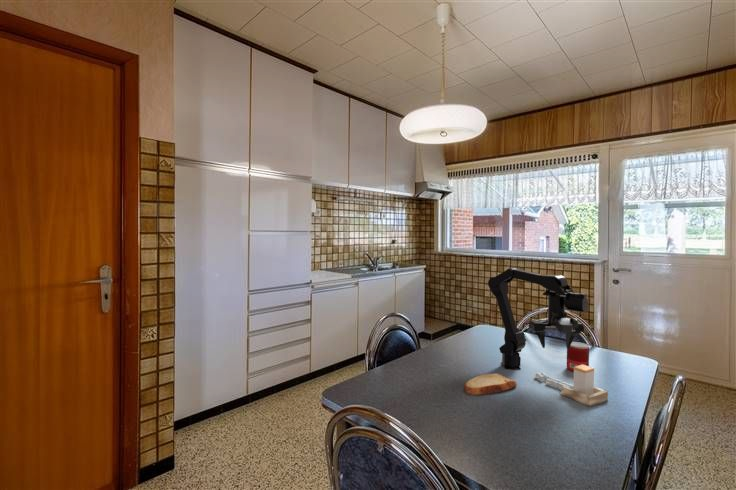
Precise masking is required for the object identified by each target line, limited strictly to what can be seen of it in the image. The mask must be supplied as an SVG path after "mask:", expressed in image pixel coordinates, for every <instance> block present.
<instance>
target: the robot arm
mask: <svg viewBox="0 0 736 490" xmlns="http://www.w3.org/2000/svg"><path fill="white" fill-rule="evenodd" d="M515 279H516V280H519V281H520V280H521V281H525V282H529V283H532V284H537V285H539V286H541V287H543V288H544V289H545V291H544V292H543V293H542V296H547V302H548V303H547V308H546V312H547V319H546V322H542V321H541V320H530V321H529V322H528V328H529V329H531V330H532V331H533V332H535V334H536V335H537V337H538V340H539V343H540V345H541V347H542V348H543V349H545V348H546V340H545V339H546V336H545V335H546V333H547V332H546V329H557V331H558V332H560V333H565V345H566V349H567V348H568V349H569V348H570V345H571V343H572V342H574V339H575V337H576V336H577V335H580V334H582V333H584V332H585V330H586V329H585V325H584V324H583V323H581V322H580V321H579V320H578V318H575V317H572V318H571V317H570V318H568V314H567V311H572V312H578V313H583V314H584V313H585V314H586V313H588V310H589V306H590V302H589V300H588V297H587V294H586V293H579V292H578V293H576V292H575V291H574V290H573V288H571V286H570V285H569V283H568V280H567V278H566V277H565V276H564V275H559V274H557V275H556V274H542V273H536V272H533V271H527V270H524V269H519V268H516V267H511V268H506V269H505V270H504V271H503V272H500V273H499V274H497V275H496V276H492V277H490V278H489V280H488V281H487V284H488V285H487V286H488V288H489V290H490V292H491V293H492V294H493V296H494V297H495V299H496V303H497V306H498V308H499V309H498V310H499V313H500V316H501V320H502V324H503V327H504V338H503V339H504V344H502V345H500V347H499V352H500V354H501V355H502V356H501V362H500V365H501V366H502V367H503V368H504V369H505V370H521V369H522V368H521V359H522V358H521V356H520V353H521V352H522V350H523V349H525V347H526V344H527V343H526V341H527V338H526V337H525V333H524V331H520V329H519V328H518V327H517V323H516V320H515V317H514V313H513V310H512V306H511V303H510V299H509V295H508V294H509V288H510V287H509V283H511V282H512V281H513V280H515ZM566 309H567V311H566Z"/></svg>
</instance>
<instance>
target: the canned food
mask: <svg viewBox="0 0 736 490" xmlns="http://www.w3.org/2000/svg"><path fill="white" fill-rule="evenodd" d="M582 364H583V365H586V366H589V367H590V365H589V364H590V345H589V344H588V343H584V342H581V341H580V342H579V341H572V343H571V345H570V348H569V349H568V348H567V347H566V369H567V370H568V371H570V372H572V373H574V367H575V366H578V365H582Z"/></svg>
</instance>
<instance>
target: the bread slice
mask: <svg viewBox="0 0 736 490" xmlns="http://www.w3.org/2000/svg"><path fill="white" fill-rule="evenodd" d="M517 385H518V384H517V381H515V380H512V379H510V378H508V377H506V376H504V375H502V374H500V373H497V372H496V373H485V374H481V375H477V376H474V377H473V378H471V379H469V380H468V381H466V382H465V384H464V392H465V393H467V394H469V395H473V396H475V395H476V396H477V395H487V394H494V393H496V394H497V393H500V392H505V391H507V390H511V389H513V388H515V387H516V386H517Z"/></svg>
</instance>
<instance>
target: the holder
mask: <svg viewBox="0 0 736 490" xmlns="http://www.w3.org/2000/svg"><path fill="white" fill-rule="evenodd" d="M559 395H562V396H564V397H566V398H568V399H571V400H573V401H576V402H577V403H580V404H582V405H585V406H587V407H588V408H590V407H593V406H596V405H598V404H601V403H603V402H606V401H608V399H609V398H608V397H609V392H608V391H607V390H605V389H602V388H599V387H597V386H594V394H592V395H589V396H588V395H585V394H583V393H581V392H578V391H576V390H573V389H571V388H568V387H566V386H562V389H561V390H560V392H559Z"/></svg>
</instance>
